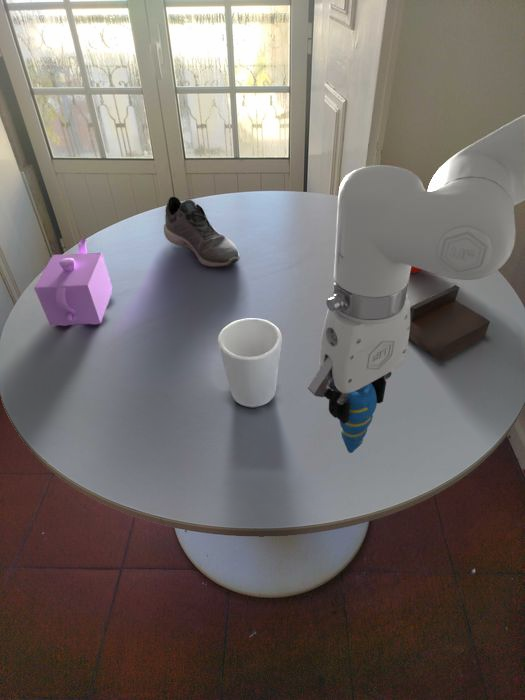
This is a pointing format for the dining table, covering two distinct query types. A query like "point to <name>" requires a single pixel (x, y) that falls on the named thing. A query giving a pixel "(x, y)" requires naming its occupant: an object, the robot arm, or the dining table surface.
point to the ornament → (359, 416)
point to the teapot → (75, 288)
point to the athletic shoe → (197, 234)
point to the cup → (251, 360)
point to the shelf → (445, 324)
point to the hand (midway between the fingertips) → (355, 405)
